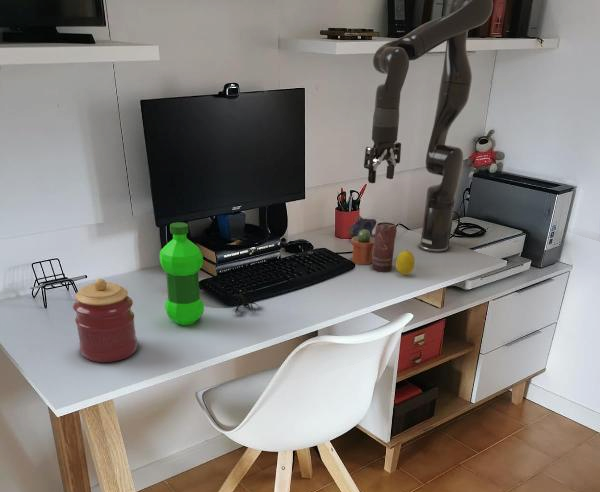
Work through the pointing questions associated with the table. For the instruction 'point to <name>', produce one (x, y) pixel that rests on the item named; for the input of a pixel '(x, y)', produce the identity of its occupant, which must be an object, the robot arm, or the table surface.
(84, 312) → the kitchen canister
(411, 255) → the lemon
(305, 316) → the table surface
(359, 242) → the plant pot
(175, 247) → the plastic bottle
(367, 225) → the frog
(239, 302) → the creature
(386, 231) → the can
